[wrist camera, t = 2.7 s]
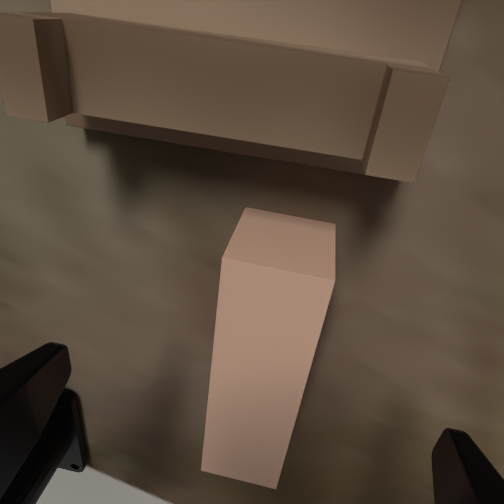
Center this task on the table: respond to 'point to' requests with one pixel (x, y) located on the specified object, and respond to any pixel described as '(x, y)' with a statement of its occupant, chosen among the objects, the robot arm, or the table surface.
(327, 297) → the pinkish tan rectangular block
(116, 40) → the tan two-rail tray
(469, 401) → the table surface
